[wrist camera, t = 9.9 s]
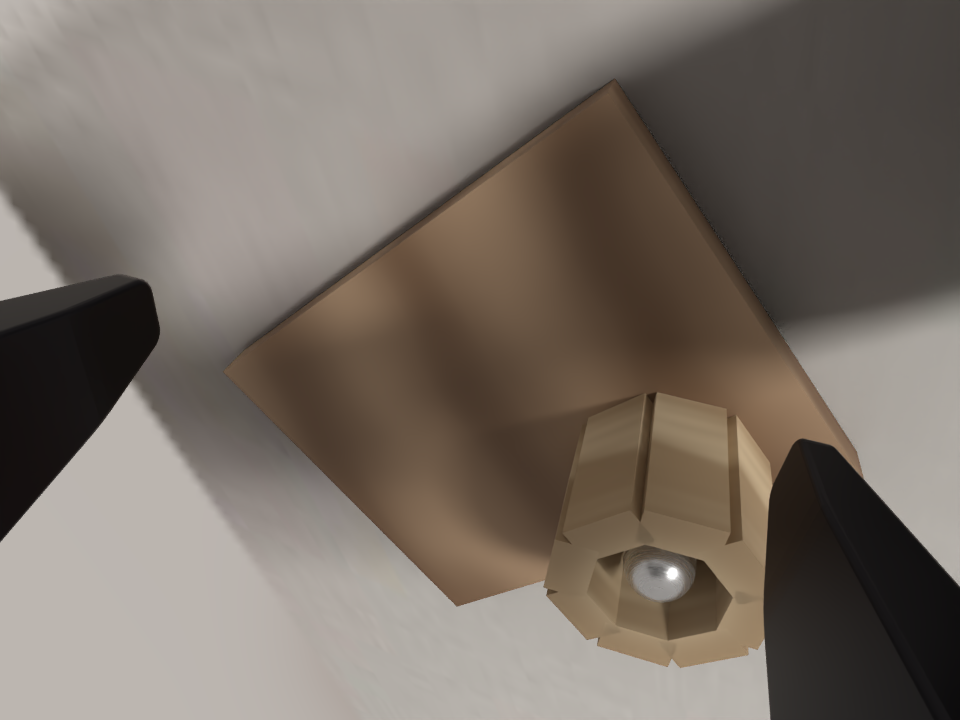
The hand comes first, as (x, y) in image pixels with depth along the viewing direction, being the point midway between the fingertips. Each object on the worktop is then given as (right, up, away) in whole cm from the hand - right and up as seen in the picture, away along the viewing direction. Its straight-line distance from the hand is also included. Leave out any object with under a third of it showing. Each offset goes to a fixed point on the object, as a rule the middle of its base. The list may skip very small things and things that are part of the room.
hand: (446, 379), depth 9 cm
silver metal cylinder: (+7, -3, +13) cm, 15 cm away
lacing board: (+2, -1, +15) cm, 15 cm away
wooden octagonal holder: (+7, -3, +13) cm, 15 cm away
